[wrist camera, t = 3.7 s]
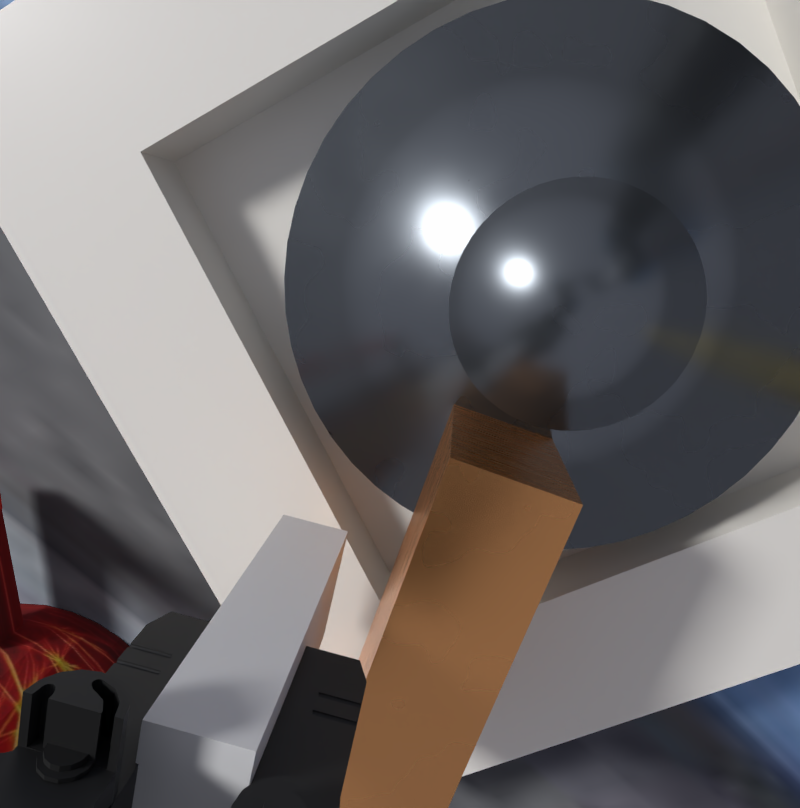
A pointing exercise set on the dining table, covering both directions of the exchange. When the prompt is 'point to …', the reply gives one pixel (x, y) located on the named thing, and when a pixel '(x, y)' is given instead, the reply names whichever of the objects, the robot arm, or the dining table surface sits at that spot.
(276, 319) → the housing
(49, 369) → the dining table surface
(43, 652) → the mug
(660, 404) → the dial
